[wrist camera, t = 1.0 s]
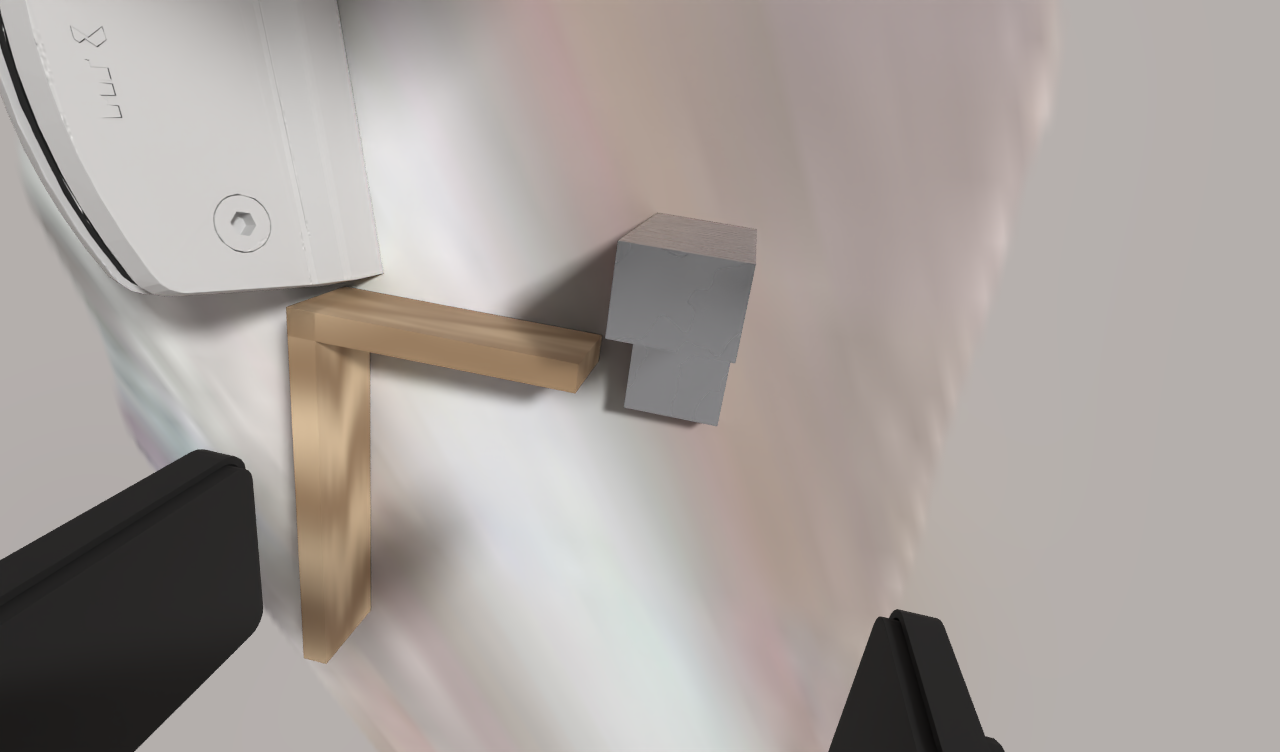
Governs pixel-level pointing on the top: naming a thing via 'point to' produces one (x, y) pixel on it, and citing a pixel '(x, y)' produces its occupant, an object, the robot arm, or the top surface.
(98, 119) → the hinge
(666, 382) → the bracket
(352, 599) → the wooden corner frame
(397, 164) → the top surface
